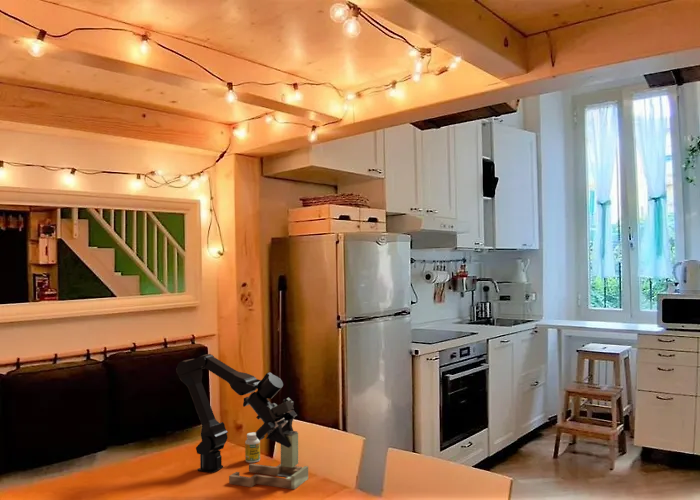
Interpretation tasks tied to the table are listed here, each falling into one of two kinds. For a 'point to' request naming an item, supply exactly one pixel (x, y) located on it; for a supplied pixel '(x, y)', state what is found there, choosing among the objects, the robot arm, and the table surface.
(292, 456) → the olive tin
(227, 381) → the robot arm
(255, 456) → the supplement bottle
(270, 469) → the trap lane
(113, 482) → the table surface
